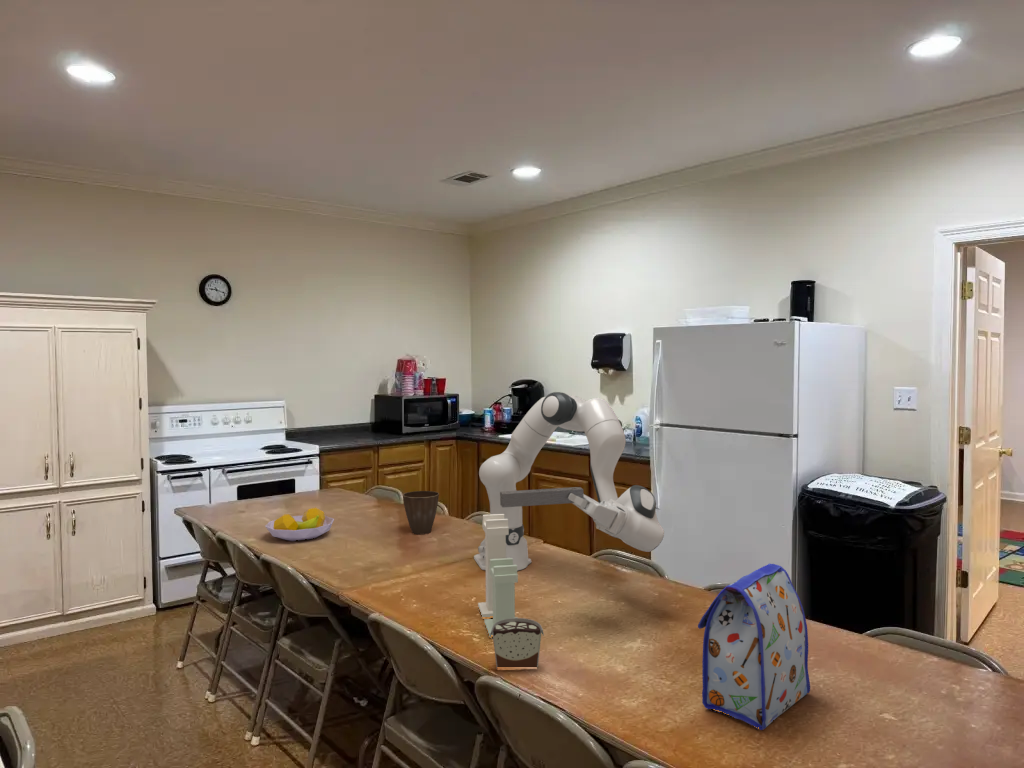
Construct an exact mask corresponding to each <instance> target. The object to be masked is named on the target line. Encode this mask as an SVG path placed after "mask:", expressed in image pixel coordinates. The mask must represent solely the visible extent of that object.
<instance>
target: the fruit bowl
mask: <svg viewBox="0 0 1024 768" xmlns="http://www.w3.org/2000/svg"><path fill="white" fill-rule="evenodd" d="M325 514H326V513H325V512H324V511H323V510H321V509H320V508H318V507H316V506H315V507H311V508H308V509H307V510H306V511H304V513H303V514H302V515H294V516H292V515H291V514H288V513H284V514H282V515H281V516H279V517H278V518H276V519H273V520H270V521H268V523H266V524H265V528H266V529H267V531H268V532H269V533H270V535H271V536H272V537H274V538H278V539H282V540H286V541H289V542H296V540H298V541H306V540H305V539H307V540H314V539H315V538H318V537H320V536H321V535H323V534H325V533H327V532H328V531H330V530H331V528H332V526H333V523H334V521H335V518H333V517H329V516H326V515H325ZM313 538H314V539H313Z"/></svg>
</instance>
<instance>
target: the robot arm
mask: <svg viewBox="0 0 1024 768" xmlns="http://www.w3.org/2000/svg"><path fill="white" fill-rule="evenodd" d="M622 426H623V425H622V424H621V422H620V420H619V418H618V416H617V415H616V413H615V411H614V409H613V408H612V406H610V404H609V403H608V402H607V400H605V399H604V398H601V397H593V398H590V399H587V400H586V399H585V398H582V397H579V396H577V395H572V394H567V393H565V392H561V391H554V392H550V393H548V394H547V395H546V396H543V397H540V399H539V400H537V401H536V402H535V403H534V404H533V405H532V406H531V408H530V409H529V410H528V411H527V412H526V414H524V416H523V417H522V419H521V420H520V422H519V423H518V425H517V426H516V427H515V429H514V430H513V431H512V432H511V435H510V439H509V440H510V441H509V444H508V445H507V447H506V449H505V450H504V451H503V452H502V453H500V454H496V455H492V456H490V457H489V458H487V459H486V460H485V461H484V462H482V463H481V465H480V467H479V471H478V475H479V479H480V482H481V483H482V484H483V485H484V486H485V489H486V493H487V496H488V500H489V515H490V514H504V519H508V527H509V535H506V558H512V559H513V565H517V571H521V570H524V569H525V568H528V565H530V564H531V563H532V558H530V557H529V552H528V551H529V550H528V541H527V539H526V538H525V537H524V535H525V532H524V531H525V528H524V524H523V506H518V507H502V506H501V505H500V492H504V491H517V487H516V485H517V483H518V482H521V481H523V480H524V479H525V478H526V477H527V476H528V475H529V474H530V472H531V469H532V466H533V464H534V462H535V460H536V458H537V456H538V454H539V453H540V451H541V449H542V448H543V447H544V446H545V444H546V443H547V442H548V441H549V439H550V438H551V437H552V435H553V434H554V433H555V431H556V429H558V428H561V429H564V430H566V431H574V432H578V433H581V434H582V433H583V434H585V436H586V438H587V443H588V446H589V453H590V462H589V463H590V464H589V467H590V468H589V469H590V473H591V479H592V482H593V483H592V484H593V485H594V489H595V494H596V498H597V500H595V499H594V498H591V497H590V496H588V495H586V494H584V493H583V495H584V499H583V498H580V497H578V496H576V495H574V494H572V493H569V495H568V496H567V498H568V499H569V500H571V501H573V502H574V503H572V505H574V506H576V507H577V508H579V510H581V511H583V513H585V514H587V515H588V516H590V517H591V518H592V520H593V522H594V523H595V528H596V529H598V530H599V531H601V532H603V533H605V534H608V536H611V537H612V538H617V539H620V541H622V542H623V543H625V544H626V545H628V546H629V547H632V548H634V549H636V550H638V551H642V552H647V553H648V552H649V553H650V552H652V551H654V550H655V549H657V548H658V547H659V546H660V544H661V543H662V541H663V540H664V537H665V529H664V528H663V527H662V525H661V524H660V522H659V520H658V515H657V510H656V509H657V501H656V498H655V495H654V493H653V492H651V490H649V489H648V488H646V487H644V486H642V485H638V484H635V485H631V486H630V487H629V488H628V489H626V490H625V491H624V492H622V493H621V494H620V496H619V497H618V493H617V490H616V486H615V483H614V472H615V468H616V467H617V464H618V461H619V459H620V457H621V456H622V455H623V452H624V450H625V446H626V444H627V443H626V434H625V432H624V429H623V427H622ZM477 551H478V553H477V554H474V555H473V559H474V561H475V562H476V564H477V565H478V566H479V568H480V569H481V570H483V571H486V561H485V538H484V539H483V540H482V541H481V542H480V545H479V546H478V547H477Z"/></svg>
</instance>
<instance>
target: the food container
mask: <svg viewBox="0 0 1024 768" xmlns="http://www.w3.org/2000/svg"><path fill="white" fill-rule="evenodd" d="M492 633H493V638H492V639H493V640H492V641H493V649H494V657H495V666H496V668H497V667H538V668H539V660H540V650H541V639H542V636H545V634H544V629H543V627H542V624H540V623H539V621H538V622H537V621H536V620H533V619H530V618H524V617H518V618H510V619H504V620H501V621H498V622H496V623H495V624H494V625H493V627H492V629H491V634H492ZM491 634H490V637H491Z"/></svg>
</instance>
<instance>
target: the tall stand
mask: <svg viewBox="0 0 1024 768" xmlns="http://www.w3.org/2000/svg"><path fill="white" fill-rule="evenodd" d="M481 525H482V530H483V531H484V536H485V537H484V539H485V561H486V570H485V601H484V602H483V601H482V602H477V608H478V607H479V609H480V612H481V615H482V617H490V616H493V579H492V577H491V575H490V569H489V566H490V559H501V558H506V535H509V527H508V519H504V514H490V513H489V514H483V515H482V524H481ZM479 609H478V610H479ZM480 612H479V613H480ZM481 615H480V616H481ZM482 617H481V618H482Z"/></svg>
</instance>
